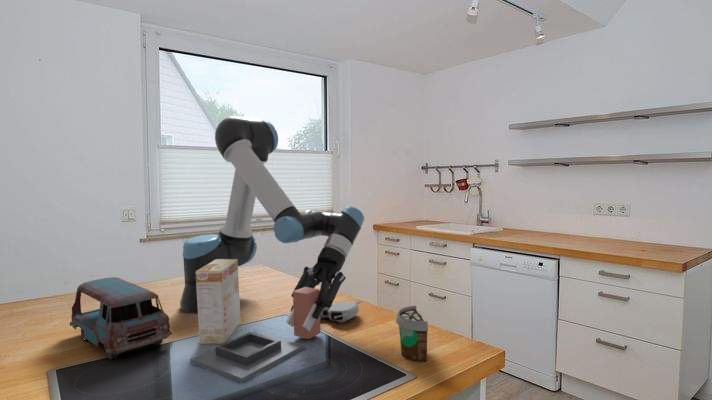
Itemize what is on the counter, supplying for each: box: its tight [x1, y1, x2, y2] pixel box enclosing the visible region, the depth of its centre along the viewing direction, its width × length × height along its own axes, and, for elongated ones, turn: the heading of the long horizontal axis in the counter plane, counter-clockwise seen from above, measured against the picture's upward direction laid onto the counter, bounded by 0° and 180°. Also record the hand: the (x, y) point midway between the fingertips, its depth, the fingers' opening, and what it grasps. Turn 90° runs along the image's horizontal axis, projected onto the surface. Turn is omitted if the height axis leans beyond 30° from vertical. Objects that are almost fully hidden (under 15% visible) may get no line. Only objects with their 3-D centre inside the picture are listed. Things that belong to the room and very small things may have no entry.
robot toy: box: [320, 300, 362, 324], centre depth 129 cm, size 12×4×15 cm
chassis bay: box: [189, 330, 305, 384], centre depth 103 cm, size 18×20×3 cm
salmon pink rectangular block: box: [292, 287, 321, 340], centre depth 113 cm, size 5×5×12 cm
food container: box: [395, 305, 429, 363], centre depth 102 cm, size 12×6×10 cm, turn 5°
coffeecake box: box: [195, 259, 242, 345], centre depth 118 cm, size 15×7×20 cm, turn 178°
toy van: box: [69, 276, 173, 360], centre depth 114 cm, size 16×32×15 cm, turn 49°
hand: (297, 326), depth 111 cm, fingers closed on salmon pink rectangular block, 5 cm apart
